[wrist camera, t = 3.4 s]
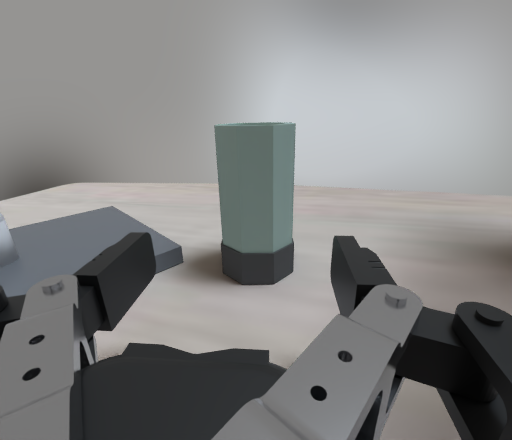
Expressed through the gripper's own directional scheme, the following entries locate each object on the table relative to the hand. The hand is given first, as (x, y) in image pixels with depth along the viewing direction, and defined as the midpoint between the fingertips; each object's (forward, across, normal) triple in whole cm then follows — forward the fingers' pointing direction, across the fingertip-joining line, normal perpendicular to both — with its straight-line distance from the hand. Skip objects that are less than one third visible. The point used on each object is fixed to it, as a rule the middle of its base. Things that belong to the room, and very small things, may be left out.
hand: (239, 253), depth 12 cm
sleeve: (+9, 0, +6) cm, 11 cm away
